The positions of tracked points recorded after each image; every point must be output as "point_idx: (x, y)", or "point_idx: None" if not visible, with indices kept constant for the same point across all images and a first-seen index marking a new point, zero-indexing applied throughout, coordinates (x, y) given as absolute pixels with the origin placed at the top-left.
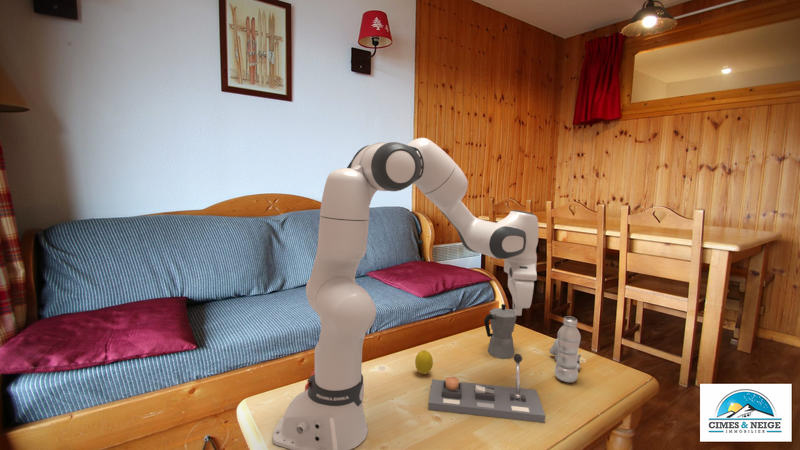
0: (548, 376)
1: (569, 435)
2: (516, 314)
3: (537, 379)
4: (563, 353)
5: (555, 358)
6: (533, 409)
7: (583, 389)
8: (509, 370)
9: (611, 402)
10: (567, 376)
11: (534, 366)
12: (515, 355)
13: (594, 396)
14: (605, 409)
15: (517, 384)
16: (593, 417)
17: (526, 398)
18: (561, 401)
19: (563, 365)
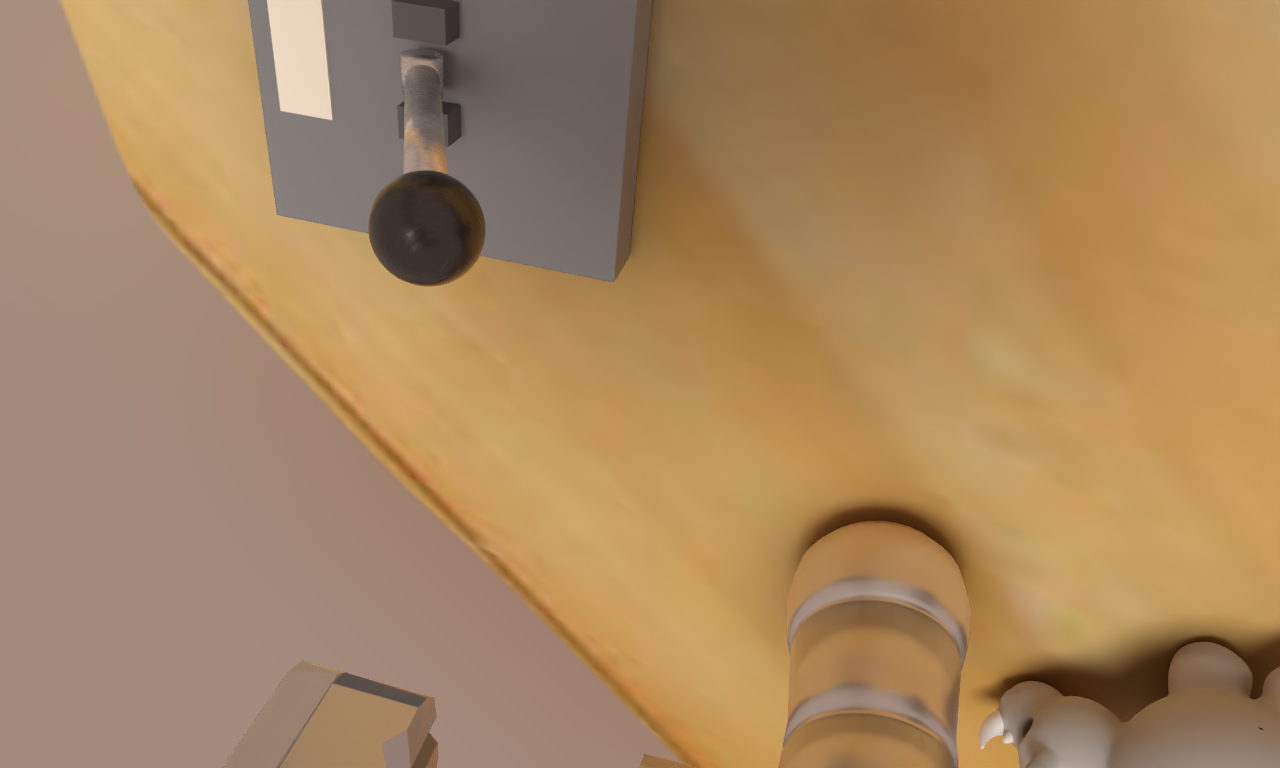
0: (941, 472)
1: (231, 293)
2: (299, 684)
3: (896, 369)
4: (818, 720)
5: (1210, 654)
6: (328, 155)
7: (747, 603)
8: (1101, 168)
9: (610, 661)
10: (791, 586)
11: (1143, 436)
12: (393, 210)
13: (666, 617)
14: (533, 597)
15: (404, 105)
16: (441, 500)
17: (464, 151)
18: (582, 407)
19: (815, 630)
